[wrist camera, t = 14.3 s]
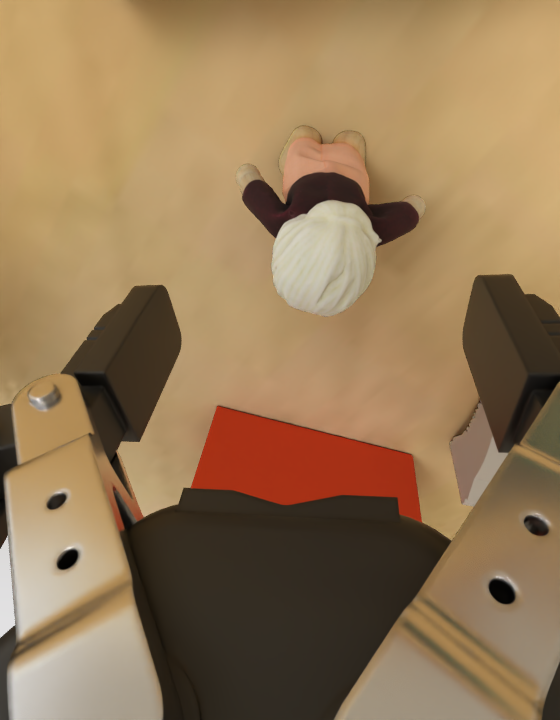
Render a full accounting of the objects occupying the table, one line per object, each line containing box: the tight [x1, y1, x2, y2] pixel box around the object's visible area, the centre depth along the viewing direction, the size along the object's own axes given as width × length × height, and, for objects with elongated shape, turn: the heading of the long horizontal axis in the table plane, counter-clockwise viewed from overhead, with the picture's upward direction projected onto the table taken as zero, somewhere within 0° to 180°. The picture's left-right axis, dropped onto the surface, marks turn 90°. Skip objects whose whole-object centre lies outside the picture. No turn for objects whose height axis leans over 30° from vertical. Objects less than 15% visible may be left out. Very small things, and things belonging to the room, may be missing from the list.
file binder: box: [191, 406, 422, 522], centre depth 26 cm, size 8×17×32 cm, turn 77°
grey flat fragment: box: [449, 400, 508, 507], centre depth 29 cm, size 6×1×10 cm
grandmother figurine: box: [236, 126, 426, 317], centre depth 17 cm, size 8×4×13 cm, turn 94°
